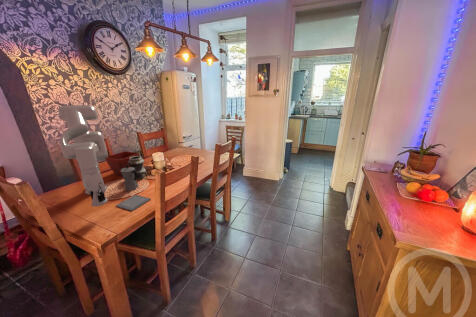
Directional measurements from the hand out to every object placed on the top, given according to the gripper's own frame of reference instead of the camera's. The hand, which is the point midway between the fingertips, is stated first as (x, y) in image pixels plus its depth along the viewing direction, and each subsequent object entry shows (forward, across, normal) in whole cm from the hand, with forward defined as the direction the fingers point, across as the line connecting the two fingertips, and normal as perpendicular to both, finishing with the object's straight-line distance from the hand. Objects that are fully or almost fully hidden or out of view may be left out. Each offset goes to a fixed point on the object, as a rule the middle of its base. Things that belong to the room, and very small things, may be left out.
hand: (98, 199), depth 99 cm
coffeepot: (+13, -14, +30) cm, 36 cm away
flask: (+3, 0, 0) cm, 3 cm away
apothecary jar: (+14, -26, +46) cm, 55 cm away
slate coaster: (+12, +4, +16) cm, 20 cm away
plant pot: (+14, -45, +49) cm, 68 cm away
